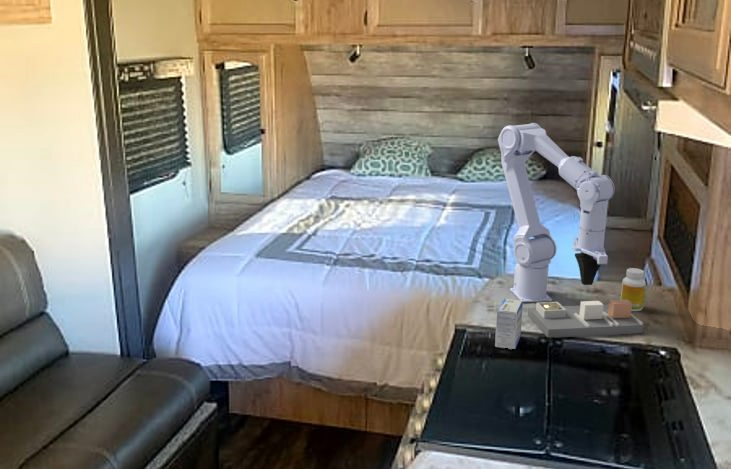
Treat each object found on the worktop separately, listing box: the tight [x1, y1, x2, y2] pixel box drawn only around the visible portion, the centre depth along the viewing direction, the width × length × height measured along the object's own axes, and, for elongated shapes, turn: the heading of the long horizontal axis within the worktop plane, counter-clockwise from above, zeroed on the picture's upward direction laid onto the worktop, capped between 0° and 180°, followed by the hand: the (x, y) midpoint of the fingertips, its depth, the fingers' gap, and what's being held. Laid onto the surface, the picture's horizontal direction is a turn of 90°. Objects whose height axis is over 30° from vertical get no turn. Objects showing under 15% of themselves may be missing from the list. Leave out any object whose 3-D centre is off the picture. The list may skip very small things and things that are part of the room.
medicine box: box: [494, 298, 524, 350], centre depth 161 cm, size 8×4×9 cm, turn 160°
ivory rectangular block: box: [579, 300, 604, 320], centre depth 171 cm, size 2×4×4 cm, turn 98°
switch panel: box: [527, 301, 644, 339], centre depth 172 cm, size 13×22×4 cm, turn 98°
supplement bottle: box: [619, 267, 647, 312], centre depth 182 cm, size 5×5×10 cm
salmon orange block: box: [608, 299, 633, 318], centre depth 172 cm, size 2×4×4 cm, turn 98°
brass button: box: [543, 301, 559, 310], centre depth 173 cm, size 4×4×2 cm
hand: (586, 284), depth 174 cm, fingers closed
